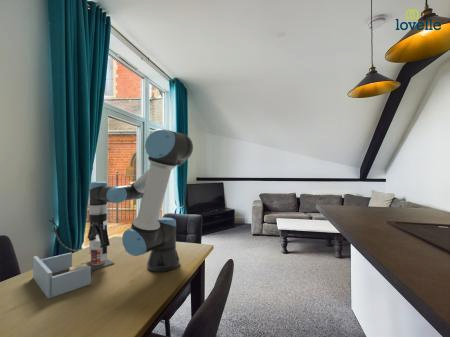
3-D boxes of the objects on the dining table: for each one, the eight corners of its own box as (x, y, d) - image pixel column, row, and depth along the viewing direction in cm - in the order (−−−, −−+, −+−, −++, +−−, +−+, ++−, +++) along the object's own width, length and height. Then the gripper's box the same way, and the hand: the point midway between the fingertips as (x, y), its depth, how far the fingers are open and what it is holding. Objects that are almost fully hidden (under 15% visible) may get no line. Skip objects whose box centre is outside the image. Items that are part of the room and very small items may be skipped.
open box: (90, 283, 93) (90, 261, 93) (47, 298, 82) (48, 273, 82) (71, 267, 108) (71, 248, 108) (33, 277, 98) (33, 256, 98)
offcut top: (85, 267, 104) (85, 263, 104) (88, 270, 101) (88, 265, 101) (69, 272, 99) (69, 267, 99) (70, 274, 96) (70, 270, 96)
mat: (114, 264, 112) (114, 262, 112) (89, 271, 104) (89, 270, 104) (104, 258, 119) (104, 257, 119) (81, 264, 111) (81, 263, 111)
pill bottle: (97, 266, 108) (98, 242, 108) (87, 264, 110) (88, 241, 110) (108, 261, 114) (108, 238, 114) (98, 260, 116) (98, 237, 116)
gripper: (117, 215, 107) (117, 261, 106) (96, 209, 123) (96, 248, 123) (100, 217, 101) (100, 266, 101) (80, 211, 117) (80, 252, 117)
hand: (97, 256), depth 112 cm, fingers open, 13 cm apart
